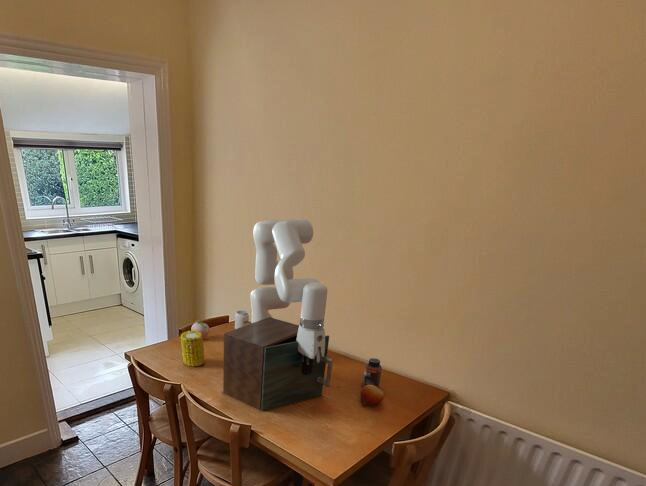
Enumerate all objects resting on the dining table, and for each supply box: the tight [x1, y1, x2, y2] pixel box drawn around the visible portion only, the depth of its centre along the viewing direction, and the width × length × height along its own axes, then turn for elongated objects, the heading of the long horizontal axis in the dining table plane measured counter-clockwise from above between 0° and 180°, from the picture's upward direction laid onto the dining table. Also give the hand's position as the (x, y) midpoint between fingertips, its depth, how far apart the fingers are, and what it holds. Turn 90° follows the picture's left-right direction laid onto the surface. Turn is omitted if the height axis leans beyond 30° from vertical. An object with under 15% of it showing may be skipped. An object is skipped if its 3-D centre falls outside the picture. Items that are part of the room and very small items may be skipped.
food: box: [180, 329, 206, 367], centre depth 177 cm, size 15×12×10 cm
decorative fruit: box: [190, 319, 211, 339], centre depth 204 cm, size 9×8×10 cm
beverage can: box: [234, 310, 250, 330], centre depth 210 cm, size 7×7×12 cm
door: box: [260, 335, 334, 412], centre depth 141 cm, size 6×26×24 cm, turn 115°
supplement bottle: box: [362, 357, 383, 388], centre depth 157 cm, size 6×6×11 cm
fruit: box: [359, 385, 385, 407], centre depth 147 cm, size 8×8×8 cm
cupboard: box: [222, 317, 300, 411], centre depth 153 cm, size 18×26×24 cm
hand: (306, 373), depth 141 cm, fingers closed
